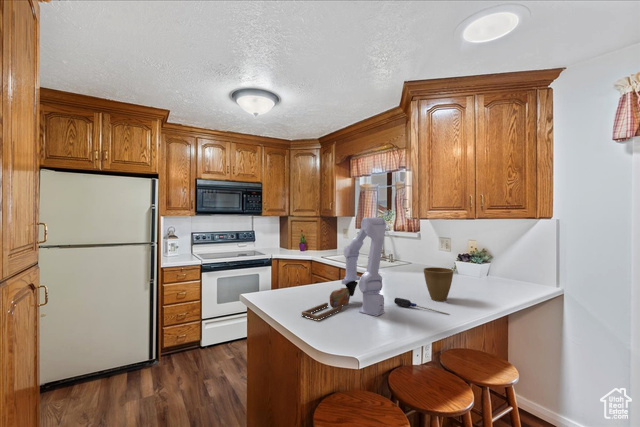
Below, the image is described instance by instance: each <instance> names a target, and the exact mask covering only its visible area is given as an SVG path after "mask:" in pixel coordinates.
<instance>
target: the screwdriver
mask: <svg viewBox="0 0 640 427" xmlns="http://www.w3.org/2000/svg"><path fill="white" fill-rule="evenodd" d="M394 304H396V305H399V306H402V307H404V308H410V307H413V308H420V309H424V310H429V311H432V312H434V313H435V312H436V313H439V314H442V315H448V316H450V315H451V314H450V313H448V312H443V311H441V310H436V309H433V308H429V307H424V306H421V305H418V304H417V303H415V302H411V300H409V299H406V298H401V297H395V298H394Z"/></svg>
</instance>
